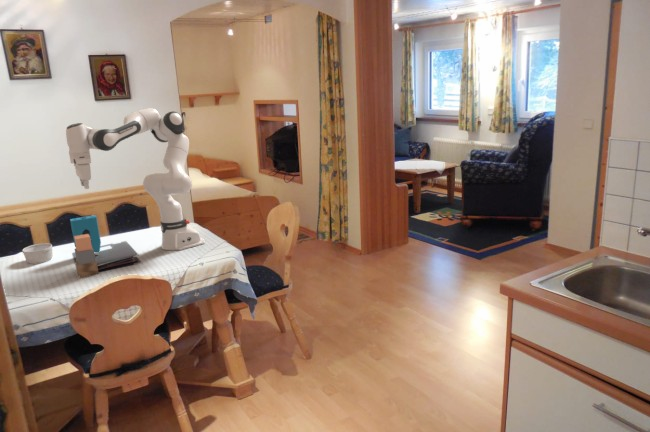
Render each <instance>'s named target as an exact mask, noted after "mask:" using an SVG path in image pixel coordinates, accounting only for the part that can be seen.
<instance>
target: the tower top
mask: <svg viewBox="0 0 650 432" xmlns="http://www.w3.org/2000/svg"><path fill="white" fill-rule="evenodd" d="M74 252H75V258H76V259H75V260H76V261H77V262H78V264H79V265H82V264H87V263H92V262H96V261H97V259H96V256H95V254H94V249H93V248H92V249H91V250H86V251H80V252H78V251H77V249H76V248H74Z"/></svg>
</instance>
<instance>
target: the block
mask: <svg viewBox="0 0 650 432" xmlns="http://www.w3.org/2000/svg"><path fill="white" fill-rule="evenodd" d="M69 221H70V227H71V231H72V233H71V234H72V238H73V243H74V248H76V244H75V238H74V236H78V235H84V234H83V233H84V232H85V230H87V231H88V232H89V233H88V234H89V236H90V239H91V245H92V248H93V249H94V252H99V251H100V252H101V244H102V240H101V235H100V234H101V233H100V230H99V223H98V218H97V215H95V214H94V215H88V216H81V217H76V218H74V217H73V218H70V219H69Z"/></svg>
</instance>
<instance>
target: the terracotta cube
mask: <svg viewBox="0 0 650 432" xmlns="http://www.w3.org/2000/svg"><path fill="white" fill-rule="evenodd" d="M74 238H75V244H76V247H75V249H77V251H78V252H80V251H86V250H91V249H92V245H91V239H90V233H85V234H83V235H78V236H74ZM75 244H74V245H75Z"/></svg>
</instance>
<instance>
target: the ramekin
mask: <svg viewBox="0 0 650 432" xmlns="http://www.w3.org/2000/svg"><path fill="white" fill-rule="evenodd" d="M22 254H23V255H24V258H25V261H26V262H27V263H28V264H31V265H32V264H33V265H35V264H36V265H37V264H42V263H46V262H49V261H51V260H52V258H53V245H52V243H48V242H47V243H43V242H42V243H37V244H31V245H29V246H26V247H24V248H23V249H22Z"/></svg>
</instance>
